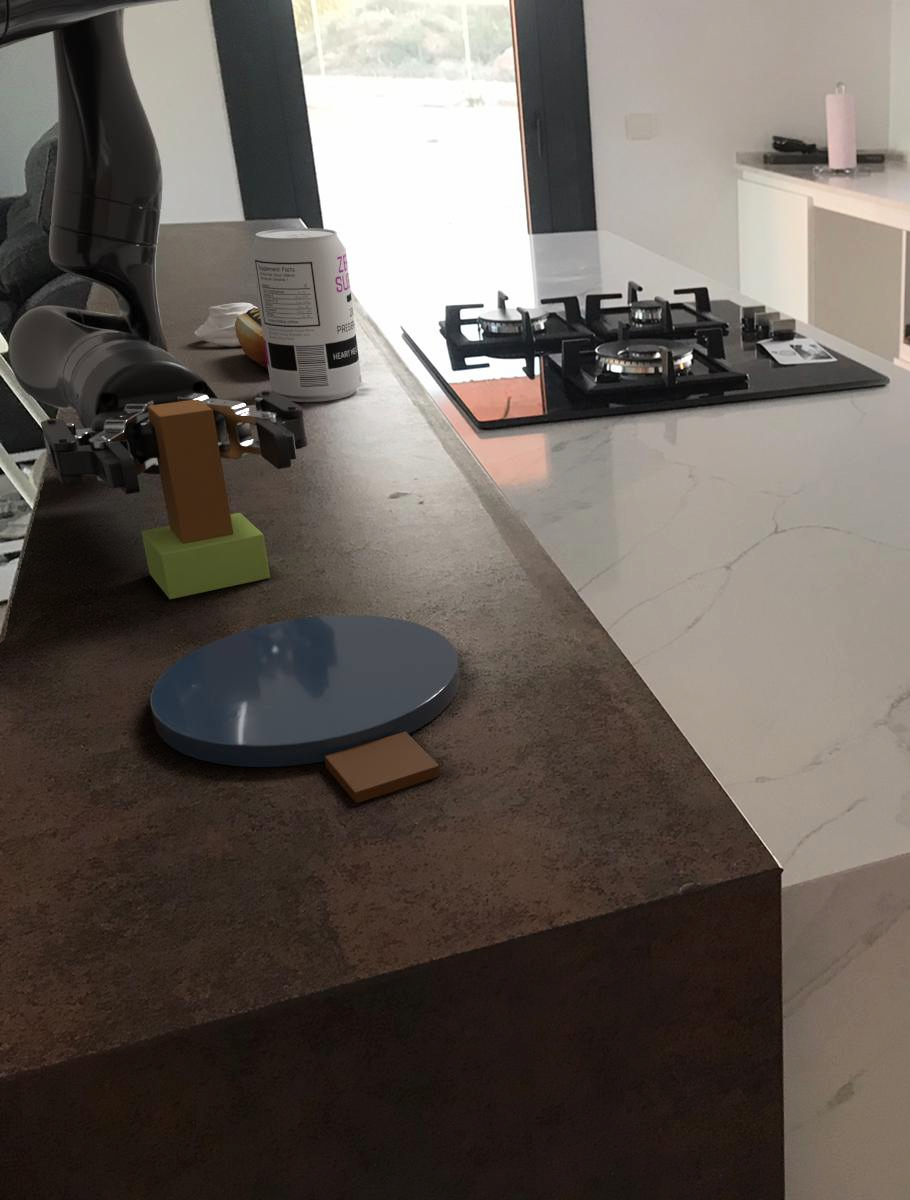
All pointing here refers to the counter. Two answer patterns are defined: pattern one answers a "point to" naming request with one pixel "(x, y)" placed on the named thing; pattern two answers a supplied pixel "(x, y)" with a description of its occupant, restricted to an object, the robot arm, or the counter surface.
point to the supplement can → (306, 314)
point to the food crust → (381, 766)
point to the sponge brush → (197, 510)
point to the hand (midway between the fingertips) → (209, 463)
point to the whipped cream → (222, 324)
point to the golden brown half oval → (251, 336)
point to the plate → (304, 689)
